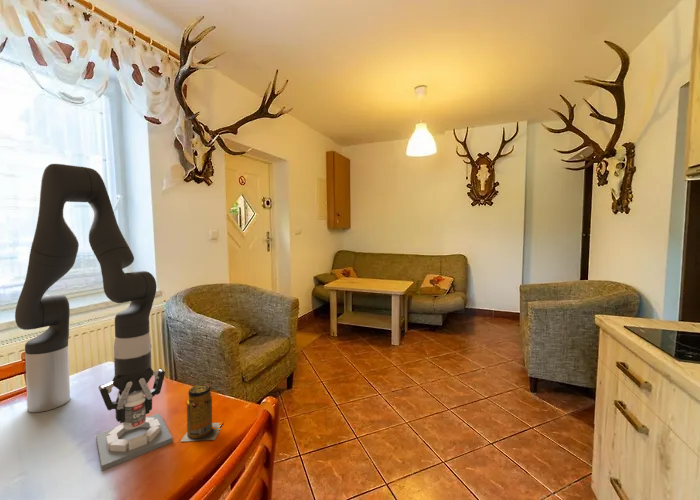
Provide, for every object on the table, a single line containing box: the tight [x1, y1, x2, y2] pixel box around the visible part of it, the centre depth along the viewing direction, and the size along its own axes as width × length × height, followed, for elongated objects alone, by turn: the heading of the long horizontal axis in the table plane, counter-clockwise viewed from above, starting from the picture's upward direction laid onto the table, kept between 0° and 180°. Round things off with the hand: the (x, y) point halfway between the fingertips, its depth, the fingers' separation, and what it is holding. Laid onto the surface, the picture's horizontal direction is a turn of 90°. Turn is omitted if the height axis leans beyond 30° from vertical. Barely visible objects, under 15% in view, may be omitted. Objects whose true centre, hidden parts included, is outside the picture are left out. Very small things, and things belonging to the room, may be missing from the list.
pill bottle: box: [123, 390, 147, 429], centre depth 77 cm, size 5×5×8 cm
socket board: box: [95, 413, 174, 472], centre depth 78 cm, size 14×14×3 cm
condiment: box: [180, 383, 222, 442], centre depth 81 cm, size 7×8×12 cm
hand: (134, 416), depth 78 cm, fingers closed on pill bottle, 4 cm apart
